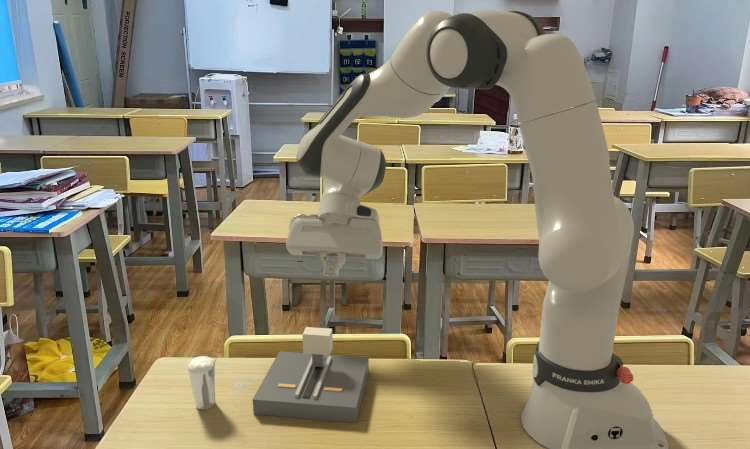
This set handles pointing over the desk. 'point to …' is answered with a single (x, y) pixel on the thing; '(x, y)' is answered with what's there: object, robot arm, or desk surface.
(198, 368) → the milkshake
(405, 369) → the desk surface
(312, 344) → the fader tab
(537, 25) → the robot arm
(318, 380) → the fader console
